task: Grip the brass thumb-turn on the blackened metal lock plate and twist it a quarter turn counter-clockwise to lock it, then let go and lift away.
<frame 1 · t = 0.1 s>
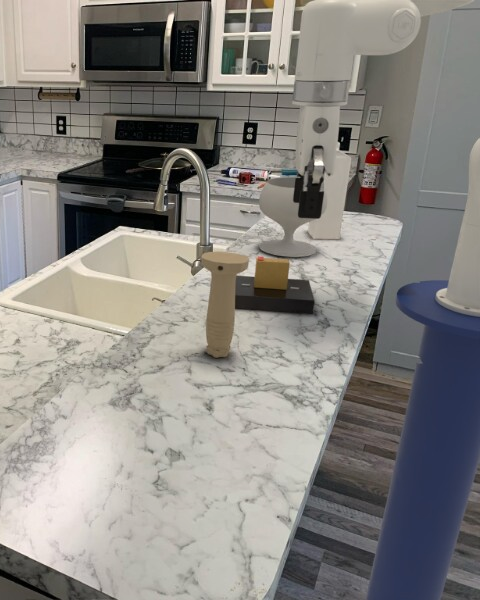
hand: (305, 209, 95), 18 cm above the counter, tool pointing down, fingers open, 9 cm apart
milk: (323, 236, 145), on the counter
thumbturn: (271, 272, 107), point 5 cm above the counter, hinge at 0.0°
chalice: (286, 250, 136), on the counter
lock plate: (268, 300, 109), on the counter
handle: (217, 355, 90), on the counter
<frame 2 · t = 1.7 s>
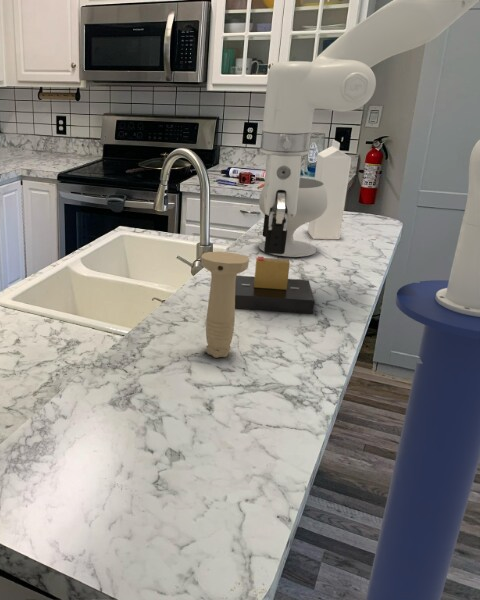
hand: (272, 244, 105), 10 cm above the counter, tool pointing down, fingers open, 9 cm apart
nothing on the counter moved.
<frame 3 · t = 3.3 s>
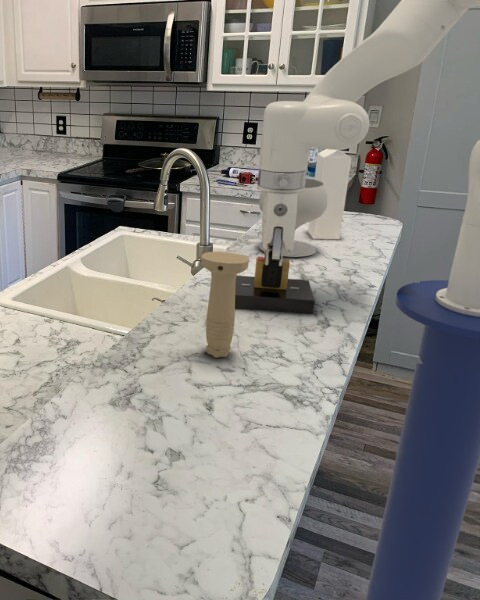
hand: (270, 283, 108), 3 cm above the counter, tool pointing down, fingers closed on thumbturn, 2 cm apart
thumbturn: (271, 272, 107), point 5 cm above the counter, hinge at 0.0°, touching gripper
everything else where it was.
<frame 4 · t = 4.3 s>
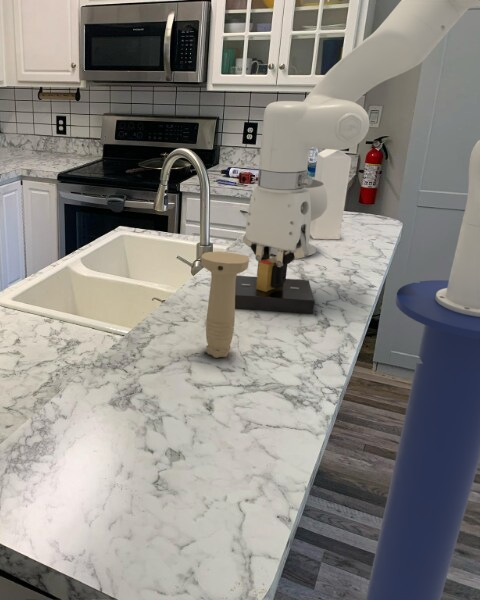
hand: (270, 283, 108), 3 cm above the counter, tool pointing down, fingers closed on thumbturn, 2 cm apart
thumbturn: (271, 272, 107), point 5 cm above the counter, hinge at 53.6°, touching gripper
everything else where it was.
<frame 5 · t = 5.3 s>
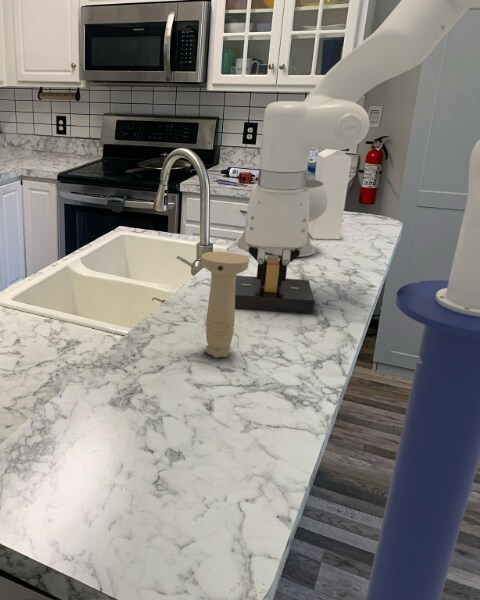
hand: (270, 283, 108), 3 cm above the counter, tool pointing down, fingers closed on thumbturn, 2 cm apart
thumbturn: (271, 272, 107), point 5 cm above the counter, hinge at 89.6°, touching gripper
everything else where it was.
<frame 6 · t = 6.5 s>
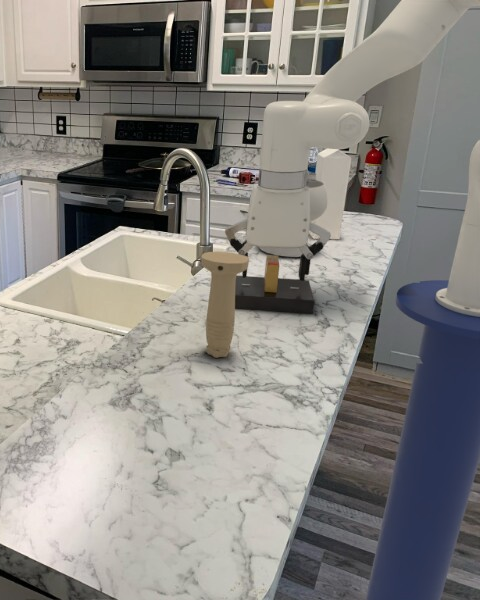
hand: (272, 276, 107), 4 cm above the counter, tool pointing down, fingers open, 9 cm apart
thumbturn: (271, 272, 107), point 5 cm above the counter, hinge at 89.5°
everything else where it was.
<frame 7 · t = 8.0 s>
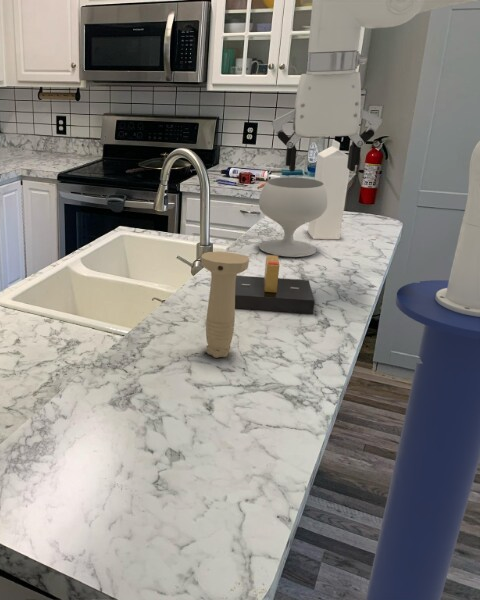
hand: (320, 170, 106), 22 cm above the counter, tool pointing down, fingers open, 9 cm apart
nothing on the counter moved.
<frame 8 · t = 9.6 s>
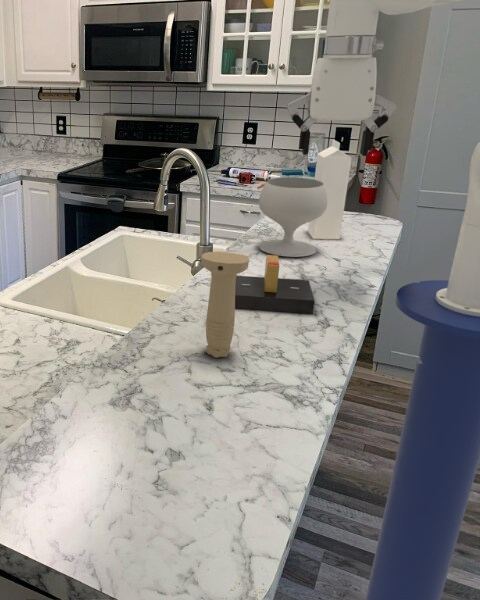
hand: (333, 154, 107), 24 cm above the counter, tool pointing down, fingers open, 9 cm apart
nothing on the counter moved.
at the end: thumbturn at +90° (first picture: +0°); the gripper is holding nothing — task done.
